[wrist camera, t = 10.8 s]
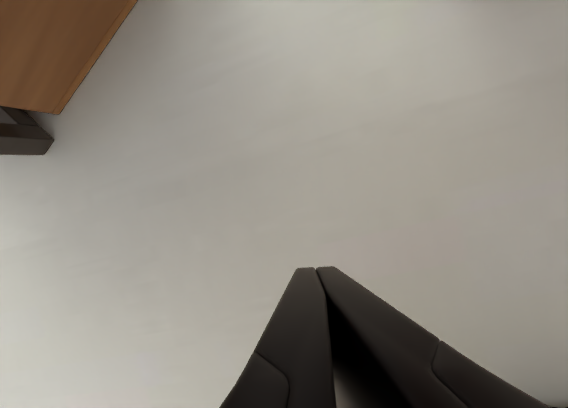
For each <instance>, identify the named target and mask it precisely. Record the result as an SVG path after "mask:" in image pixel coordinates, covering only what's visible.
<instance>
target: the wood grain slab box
mask: <svg viewBox="0 0 568 408" xmlns="http://www.w3.org/2000/svg"><path fill="white" fill-rule="evenodd" d="M136 2H137V0H0V106H5V107H11V108H18V109H25V110H32V111H38V112H45V113H52V114H60V112H61V111H62V109H63V108H64V106H65V105H66V104H67V102H68V101H69V99H70V98H71V96H72V95H73V93H74V92H75V90H76V89H77V88H78V86H79V85H80V83H81V82H82V80H83V79H84V77H85V76H86V74H87V73H88V71H89V70H90V69H91V67H92V66H93V64H94V63H95V61H96V60H97V58H98V57H99V55H100V54H101V53H102V51H103V50H104V48H105V47H106V45H107V44H108V42H109V41H110V39H111V38H112V37H113V35H114V34H115V32H116V31H117V29H118V28H119V26H120V25H121V23H122V22H123V21H124V19H125V18H126V16H127V15H128V13H129V12H130V10H131V9H132V7H133V6H134V4H135V3H136Z"/></svg>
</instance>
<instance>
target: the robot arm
mask: <svg viewBox="0 0 568 408" xmlns="http://www.w3.org/2000/svg"><path fill="white" fill-rule="evenodd" d="M219 408H556V407H549V406H547V405H545V404H543V403H542V402H540V401H538V400H536V399H535V398H533V397H531V396H530V395H528V394H526V393H524V392H523V391H521V390H519V389H517V388H516V387H514V386H512V385H510V384H509V383H507V382H505V381H504V380H502V379H500V378H499V377H497V376H495V375H494V374H492V373H490V372H489V371H487V370H485V369H484V368H482V367H481V366H479V365H478V364H476V363H474V362H473V361H471V360H470V359H468V358H467V357H465V356H464V355H462V354H461V353H459V352H458V351H456V350H455V349H453V348H452V347H450V346H449V345H448V344H446V343H445V342H443V341H440V340H439V338H437V337H436V336H434V335H433V334H431V333H430V332H428V331H427V330H426V329H424V328H423V327H421V326H420V325H418V324H417V323H415V322H414V321H412V320H411V319H410V318H408V317H407V316H405V315H404V314H402V313H401V312H399V311H398V310H396V309H395V308H394V307H392V306H391V305H389V304H388V303H386V302H385V301H383V300H382V299H381V298H379V297H378V296H376V295H375V294H373V293H372V292H370V291H369V290H367V289H366V288H365V287H363V286H362V285H360V284H359V283H357V282H356V281H354V280H353V279H352V278H350V277H349V276H347V275H346V274H344V273H343V272H341V271H340V270H338V269H337V268H335V267H333V266H329V267H318V268H316V270H315V268H313V267H309V268H297V269H296V270H295V272H294V274H293V276H292V278H291V280H290V282H289V284H288V286H287V288H286V290H285V292H284V294H283V295H282V297H281V299H280V301H279V303H278V305H277V307H276V309H275V311H274V313H273V315H272V317H271V319H270V321H269V323H268V324H267V326H266V328H265V330H264V332H263V334H262V336H261V338H260V340H259V342H258V344H257V346H256V348H255V350H254V353H253V354H252V355H251V357H250V359H249V361H248V363H247V365H246V367H245V368H244V370H243V372H242V374H241V375H240V377H239V379H238V380H237V382H236V384H235V386H234V387H233V388H232V390H231V391H230V393H229V394H228V396H227V397H226V399H225V400H224V402H223V403H222V404H221V406H220V407H219ZM567 408H568V407H567Z"/></svg>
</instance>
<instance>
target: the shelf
mask: <svg viewBox="0 0 568 408" xmlns="http://www.w3.org/2000/svg"><path fill="white" fill-rule="evenodd" d="M53 141H54V139H53V138H52V137H51V136H50V135H48V134H47V133H46V132H45V131H44V130H43V129H42V128H41V127H39V125H38V124H37V123H36V122H35V121H34V120H32V119H31V118H30V117H29V116H28V115H27V114H26V113H25V112H24V111H23V110H22V109H18V108H11V107H5V106H0V155H44V154H45V152H46V151H47V150H48V148H49V147H50V145H51V144H52V142H53Z"/></svg>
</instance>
